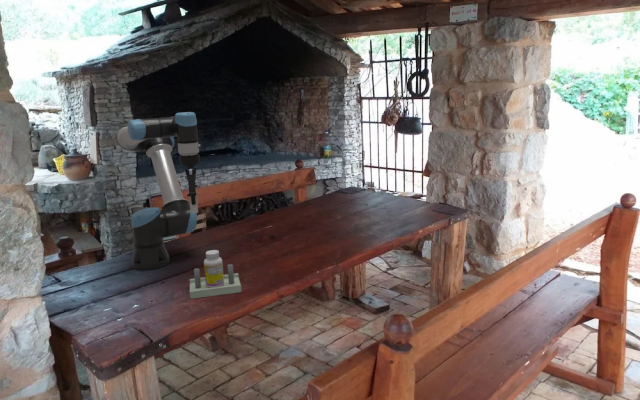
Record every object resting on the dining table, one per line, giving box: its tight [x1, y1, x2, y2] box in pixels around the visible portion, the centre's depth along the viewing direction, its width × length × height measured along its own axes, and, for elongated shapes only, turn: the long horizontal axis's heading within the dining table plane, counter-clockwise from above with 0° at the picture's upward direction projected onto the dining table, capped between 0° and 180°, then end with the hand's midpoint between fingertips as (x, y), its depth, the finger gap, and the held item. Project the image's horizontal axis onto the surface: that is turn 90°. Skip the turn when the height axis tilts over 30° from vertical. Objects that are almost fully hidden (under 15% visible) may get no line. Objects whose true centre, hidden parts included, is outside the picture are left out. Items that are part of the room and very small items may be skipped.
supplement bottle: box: [203, 249, 225, 288], centre depth 181 cm, size 7×7×13 cm
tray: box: [189, 263, 243, 300], centre depth 182 cm, size 18×12×8 cm, turn 104°
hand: (194, 208), depth 193 cm, fingers open, 13 cm apart
